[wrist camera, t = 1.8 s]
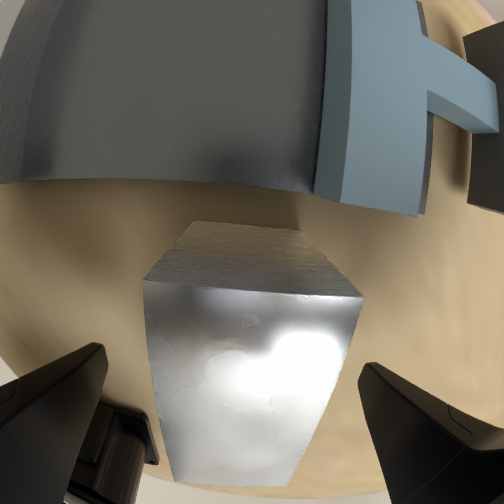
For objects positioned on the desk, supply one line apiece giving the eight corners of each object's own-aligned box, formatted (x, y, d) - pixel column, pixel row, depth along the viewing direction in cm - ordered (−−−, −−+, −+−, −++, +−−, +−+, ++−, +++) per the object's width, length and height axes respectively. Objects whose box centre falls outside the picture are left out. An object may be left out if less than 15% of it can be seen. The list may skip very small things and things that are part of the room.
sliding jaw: (480, 229, 9) (531, 249, 6) (313, 194, 9) (356, 208, 5) (477, 37, 6) (517, 23, 3) (326, -37, 6) (351, -82, 2)
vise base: (410, 210, 10) (468, 229, 7) (5, 181, 9) (-46, 191, 5) (412, 10, 7) (450, -18, 4) (50, -1, 6) (17, -24, 2)
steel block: (270, 385, 13) (285, 485, 7) (191, 379, 12) (174, 480, 7) (298, 230, 10) (363, 297, 5) (194, 219, 10) (142, 279, 4)
